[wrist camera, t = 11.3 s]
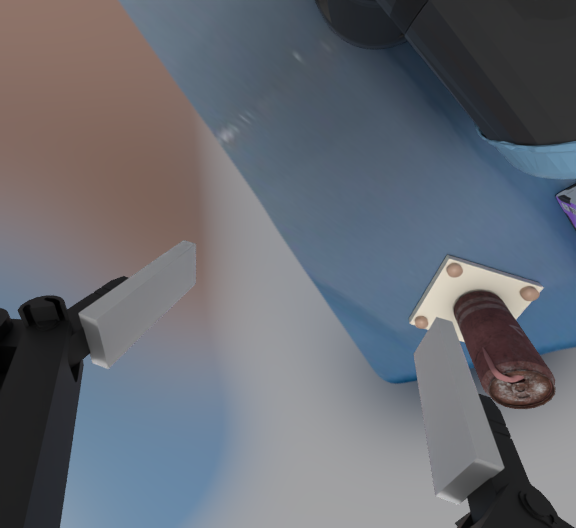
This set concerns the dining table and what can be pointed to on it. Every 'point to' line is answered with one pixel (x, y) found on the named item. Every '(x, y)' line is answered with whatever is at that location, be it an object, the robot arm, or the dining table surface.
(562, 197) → the candy box
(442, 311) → the stud plate
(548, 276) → the dining table surface
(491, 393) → the can
